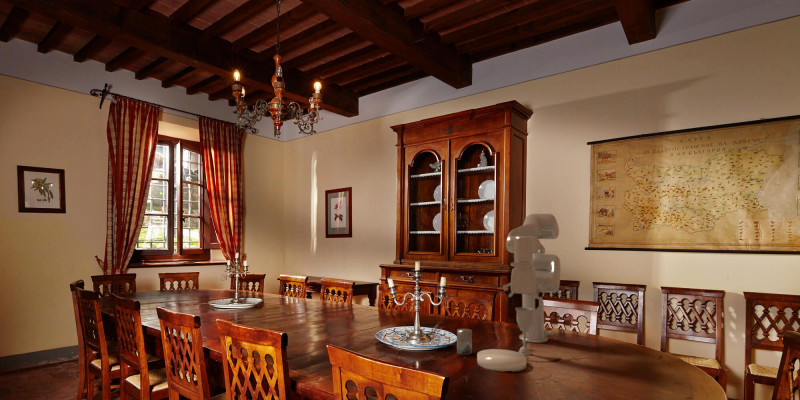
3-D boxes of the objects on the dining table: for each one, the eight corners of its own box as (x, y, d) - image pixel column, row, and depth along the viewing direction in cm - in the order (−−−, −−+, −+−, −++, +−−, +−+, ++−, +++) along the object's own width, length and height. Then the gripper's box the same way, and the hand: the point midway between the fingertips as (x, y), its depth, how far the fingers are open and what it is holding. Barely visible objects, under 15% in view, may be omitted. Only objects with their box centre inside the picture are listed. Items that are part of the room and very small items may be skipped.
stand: (511, 355, 170) (511, 348, 170) (536, 369, 153) (535, 361, 153) (469, 358, 166) (469, 350, 166) (490, 373, 149) (489, 364, 149)
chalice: (532, 351, 177) (531, 307, 178) (535, 356, 170) (535, 310, 172) (514, 350, 178) (513, 307, 179) (517, 355, 171) (516, 309, 172)
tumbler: (468, 350, 178) (468, 328, 178) (474, 354, 172) (474, 331, 173) (454, 351, 176) (454, 329, 177) (460, 355, 170) (460, 332, 171)
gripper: (501, 265, 176) (501, 307, 174) (545, 267, 170) (545, 310, 168) (503, 264, 183) (503, 305, 181) (545, 266, 177) (546, 308, 175)
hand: (524, 307), depth 175 cm, fingers open, 9 cm apart
